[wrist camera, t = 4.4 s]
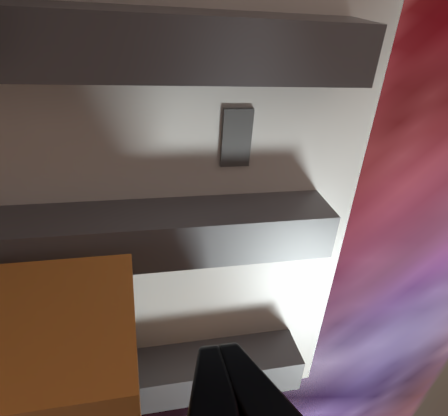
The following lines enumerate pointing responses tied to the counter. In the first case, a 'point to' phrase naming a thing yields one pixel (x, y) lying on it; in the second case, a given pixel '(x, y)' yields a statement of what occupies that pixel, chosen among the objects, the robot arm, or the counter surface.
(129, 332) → the fader orange
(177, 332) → the console
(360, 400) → the counter surface
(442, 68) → the counter surface
